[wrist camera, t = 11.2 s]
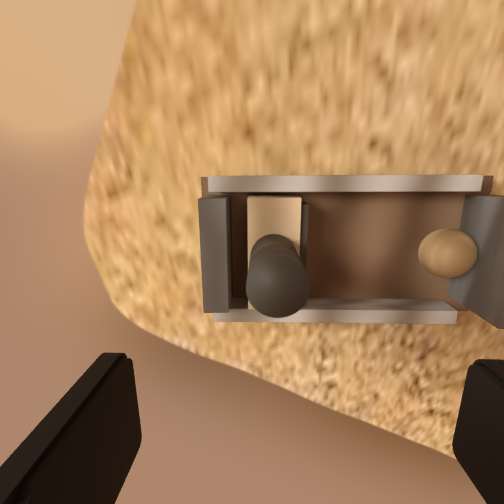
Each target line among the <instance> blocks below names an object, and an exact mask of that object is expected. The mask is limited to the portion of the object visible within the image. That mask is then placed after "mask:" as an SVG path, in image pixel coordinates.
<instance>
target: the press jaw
mask: <svg viewBox="0 0 504 504" xmlns="http://www.w3.org/2000/svg"><path fill="white" fill-rule="evenodd" d="M247 210H248V275H247V282H246V294H247V297H248V309H255V310H257V311H258V312H259V313H261V314H263V315H265V316H268V317H272V318H283V317H288V316H291V315H293V314H295V313H296V312H298V311H299V310H300V309H301V308H302V307H303V306H304V305H305V304H306V302H307V300H308V298H309V294H310V281H309V278H308V275H307V273H306V256H307V234H308V211H309V204H307V203H306V202H301V197H299V196H297V195H249V196H248V198H247Z"/></svg>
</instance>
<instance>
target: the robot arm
mask: <svg viewBox="0 0 504 504" xmlns="http://www.w3.org/2000/svg"><path fill="white" fill-rule="evenodd" d="M141 438H142V433H141V425H140V417H139V409H138V401H137V394H136V385H135V378H134V370H133V362H132V360H131V359H130V358H127V356H126V354H124V353H102V354H101V355H100V356H99V357H98V358H97V359H96V361H95V362H94V363H93V364H92V365H91V366H90V367H89V368H88V369H87V371H86V372H85V373H84V374H83V375H82V376H81V377H80V378H79V379H78V381H77V382H76V383H75V384H74V385H73V386H72V387H71V388H70V390H69V391H68V392H67V393H66V394H65V395H64V396H63V397H62V398H61V400H60V401H59V402H58V403H57V404H56V405H55V406H54V407H53V409H52V410H51V411H50V412H49V413H48V414H47V415H46V416H45V417H44V419H43V420H42V421H41V422H40V423H39V424H38V425H37V426H36V427H35V429H34V430H33V431H32V432H31V433H30V434H29V435H28V437H27V438H26V439H25V440H24V441H23V442H22V443H21V444H20V445H19V447H18V448H17V449H16V450H15V451H14V452H13V453H12V454H11V455H10V457H9V458H8V459H7V460H6V461H5V462H4V463H3V464H2V465H1V467H0V504H115V501H116V499H117V497H118V495H119V493H120V490H121V488H122V486H123V484H124V482H125V479H126V477H127V475H128V473H129V470H130V468H131V466H132V464H133V461H134V459H135V457H136V455H137V452H138V450H139V448H140V444H141ZM452 446H453V451H454V454H455V457H456V458H457V460H458V462H459V463H460V465H461V466H462V468H463V469H464V470H465V472H466V473H467V475H468V476H469V478H470V479H471V481H472V482H473V484H474V485H475V487H476V488H477V490H478V491H479V493H480V494H481V496H482V497H483V498H484V500H485V501H486V503H487V504H504V360H497V359H478V360H476V361H475V362H474V364H473V365H470V366H469V368H468V371H467V376H466V381H465V386H464V390H463V395H462V400H461V404H460V409H459V414H458V419H457V423H456V428H455V433H454V438H453V443H452Z"/></svg>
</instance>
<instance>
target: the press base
mask: <svg viewBox="0 0 504 504" xmlns="http://www.w3.org/2000/svg"><path fill="white" fill-rule="evenodd" d="M493 177H494V176H484V175H284V176H208V177H201V185H202V198H199V199H198V209H199V228H200V248H201V268H202V288H203V308H204V313H214V321H226V322H311V323H397V324H456V320H457V314H458V311H467V309H469V310H471V311H472V312H474V313H475V314H477V315H478V316H480V317H482V318H483V319H485V320H486V321H488V322H489V323H491V324H492V325H494V326H495V327H497V328H498V329H504V196H501V195H490V192H491V187H492V182H493ZM249 195H297V196H299V197H301V202H306V203H307V204H309V211H308V234H307V256H306V273H307V275H308V278H309V281H310V294H309V298H308V300H307V302H306V304H305V305H304V306H303V307H302V308H301V309H300V310H299V311H298V312H296V313H295V314H293V315H291V316H288V317H283V318H272V317H268V316H265V315H263V314H261V313H259V312H258V311H257V310H255V309H248V297H247V294H246V282H247V275H248V210H247V198H248V196H249Z"/></svg>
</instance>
